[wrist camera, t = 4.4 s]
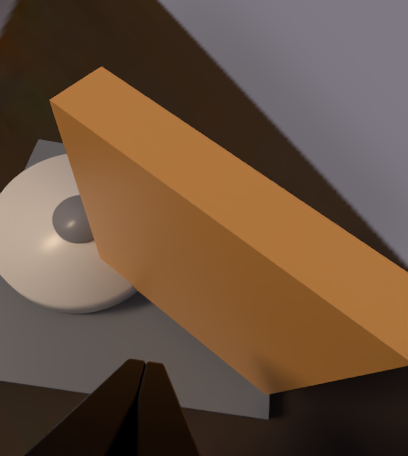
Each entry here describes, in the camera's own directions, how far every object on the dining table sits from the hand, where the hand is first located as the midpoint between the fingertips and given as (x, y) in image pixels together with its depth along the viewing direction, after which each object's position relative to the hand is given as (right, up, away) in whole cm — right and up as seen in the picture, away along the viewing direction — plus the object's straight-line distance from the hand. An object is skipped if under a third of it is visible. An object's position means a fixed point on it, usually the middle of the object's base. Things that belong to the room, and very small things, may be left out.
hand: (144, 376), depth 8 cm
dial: (-2, +1, +9) cm, 9 cm away
